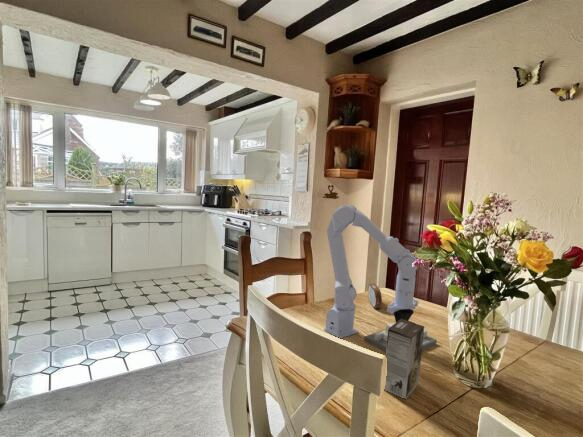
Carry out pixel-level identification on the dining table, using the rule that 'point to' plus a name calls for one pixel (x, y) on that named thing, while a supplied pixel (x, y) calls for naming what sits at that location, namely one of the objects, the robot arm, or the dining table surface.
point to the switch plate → (378, 341)
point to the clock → (375, 296)
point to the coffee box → (403, 357)
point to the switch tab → (387, 331)
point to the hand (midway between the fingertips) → (400, 330)
